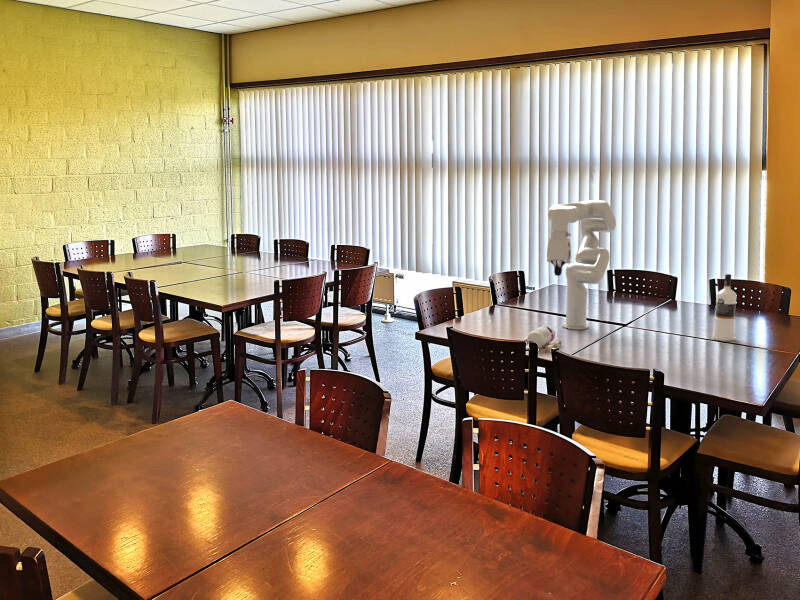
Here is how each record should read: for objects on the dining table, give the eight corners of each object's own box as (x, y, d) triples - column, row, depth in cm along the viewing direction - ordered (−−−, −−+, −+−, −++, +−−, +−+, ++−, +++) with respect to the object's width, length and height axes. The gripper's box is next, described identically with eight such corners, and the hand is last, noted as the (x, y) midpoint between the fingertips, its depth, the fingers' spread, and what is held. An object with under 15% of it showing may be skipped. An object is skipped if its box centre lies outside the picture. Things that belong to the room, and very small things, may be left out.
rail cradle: (528, 341, 333) (528, 335, 332) (561, 345, 324) (561, 340, 324) (515, 347, 321) (515, 342, 321) (548, 352, 313) (548, 347, 312)
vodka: (738, 340, 331) (744, 275, 325) (723, 342, 327) (728, 276, 321) (722, 335, 339) (727, 272, 333) (707, 338, 336) (712, 273, 330)
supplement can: (558, 340, 326) (546, 347, 314) (541, 343, 331) (529, 351, 318) (552, 322, 326) (540, 329, 314) (535, 326, 331) (523, 333, 318)
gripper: (578, 235, 329) (576, 275, 333) (546, 233, 337) (545, 272, 341) (572, 236, 323) (570, 277, 327) (540, 235, 331) (539, 275, 335)
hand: (557, 275), depth 334 cm, fingers closed
